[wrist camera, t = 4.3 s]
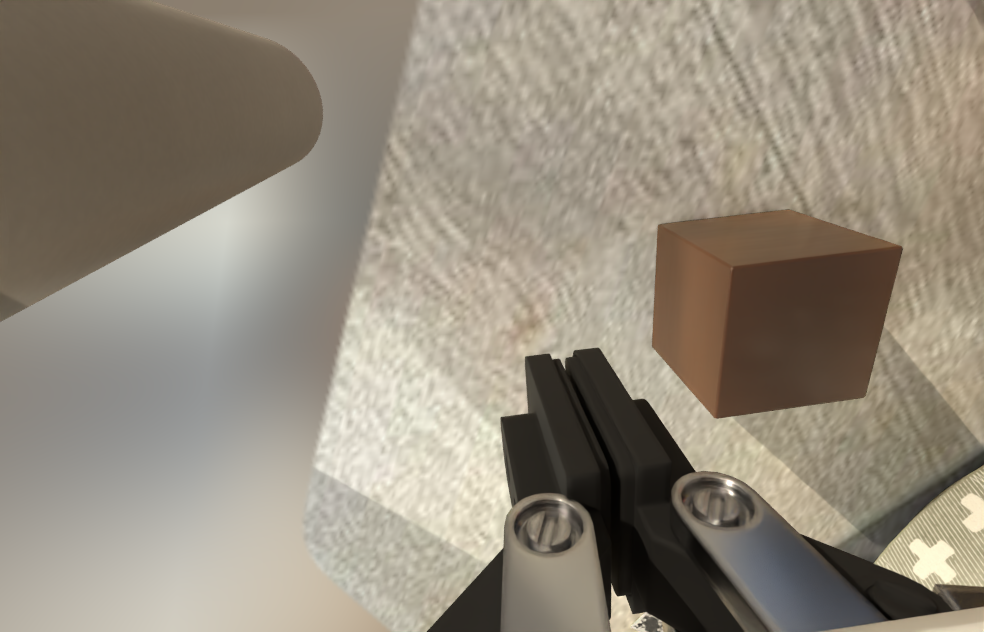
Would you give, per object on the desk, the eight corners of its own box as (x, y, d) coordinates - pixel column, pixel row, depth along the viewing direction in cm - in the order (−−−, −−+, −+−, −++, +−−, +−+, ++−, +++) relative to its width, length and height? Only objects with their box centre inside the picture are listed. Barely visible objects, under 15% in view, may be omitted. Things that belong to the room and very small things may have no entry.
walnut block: (651, 346, 18) (714, 419, 14) (656, 223, 17) (731, 267, 12) (770, 331, 19) (866, 398, 15) (789, 208, 17) (905, 246, 13)
